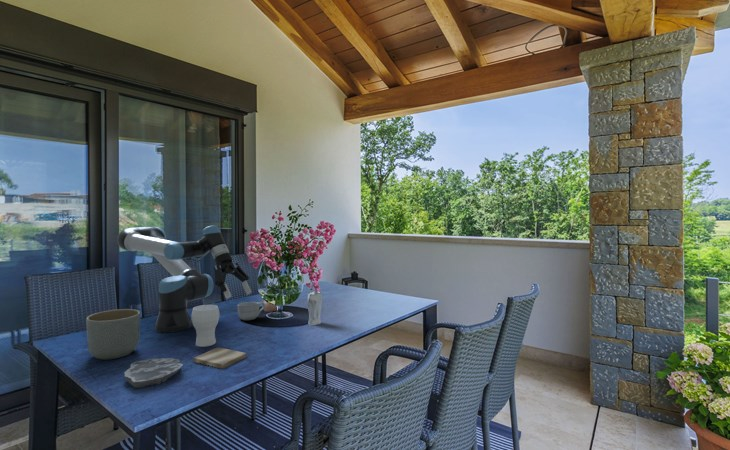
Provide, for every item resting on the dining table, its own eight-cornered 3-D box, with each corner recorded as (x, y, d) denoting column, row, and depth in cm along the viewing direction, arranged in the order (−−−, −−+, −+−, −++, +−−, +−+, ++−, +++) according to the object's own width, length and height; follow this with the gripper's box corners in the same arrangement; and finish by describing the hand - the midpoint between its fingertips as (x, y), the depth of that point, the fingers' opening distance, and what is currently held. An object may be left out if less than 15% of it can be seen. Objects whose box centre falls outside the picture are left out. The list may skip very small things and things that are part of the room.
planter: (100, 367, 134) (99, 323, 133) (78, 357, 143) (77, 316, 142) (149, 352, 148) (148, 313, 147) (126, 344, 157) (126, 306, 156)
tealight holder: (260, 310, 211) (260, 300, 210) (269, 307, 218) (269, 297, 218) (272, 312, 207) (272, 302, 207) (281, 309, 215) (281, 299, 214)
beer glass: (319, 326, 184) (319, 294, 183) (305, 325, 185) (305, 294, 185) (323, 321, 191) (323, 291, 190) (310, 320, 192) (310, 291, 192)
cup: (185, 345, 156) (185, 309, 155) (205, 337, 165) (205, 303, 165) (205, 349, 152) (205, 312, 151) (225, 341, 161) (225, 305, 161)
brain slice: (188, 380, 125) (188, 371, 125) (126, 395, 115) (126, 385, 115) (177, 361, 141) (177, 353, 141) (122, 372, 131) (122, 363, 131)
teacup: (239, 323, 187) (239, 306, 187) (235, 317, 197) (235, 302, 197) (268, 319, 194) (268, 303, 194) (263, 314, 203) (263, 299, 203)
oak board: (193, 361, 139) (193, 357, 139) (218, 351, 150) (218, 347, 150) (222, 368, 134) (222, 364, 134) (246, 357, 145) (246, 353, 144)
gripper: (207, 252, 170) (225, 295, 165) (245, 251, 193) (262, 288, 188) (196, 261, 172) (214, 303, 168) (234, 258, 195) (251, 295, 191)
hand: (239, 295), depth 178 cm, fingers open, 13 cm apart
